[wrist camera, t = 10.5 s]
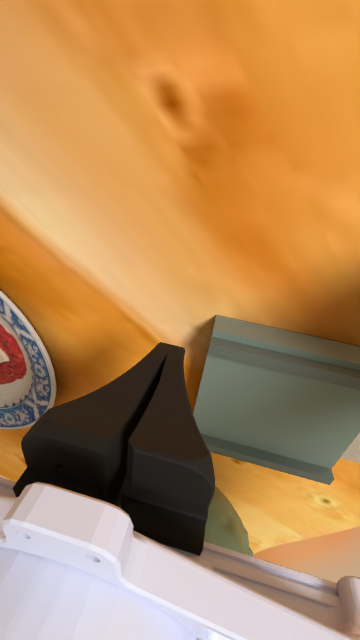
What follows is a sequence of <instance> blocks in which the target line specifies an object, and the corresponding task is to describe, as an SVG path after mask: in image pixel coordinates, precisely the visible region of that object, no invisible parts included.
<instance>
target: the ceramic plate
mask: <svg viewBox="0 0 360 640" xmlns="http://www.w3.org/2000/svg"><path fill="white" fill-rule="evenodd" d="M55 398H56V379H55V372H54V369H53V366H52V363H51V360H50V357H49V355H48V353H47V351H46V348H45V346H44V345H43V343H42V341H41V339H40V337H39V336H38V334H37V333H36V331H35V330H34V328H33V327H32V325H31V324H30V323H29V321H28V320H27V319H26V317H25V316H24V315H23V314H22V313H21V311H20V310H19V309H18V308H17V307H16V306H15V305H14V303H13V302H12V301H11V300H10V299H9V298H8V297H7V296H6V295H5V294H4V293H3V292H2V291H1V290H0V429H8V430H13V429H23V428H27V427H31V426H33V425H34V424H35V422H36V421H37V420H38V419H39V418H40V417H41V416H42V415H43V414H44V413H45V412H46V411H47V410H48V409H50V408H52V407H53V405H54V402H55Z"/></svg>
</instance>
